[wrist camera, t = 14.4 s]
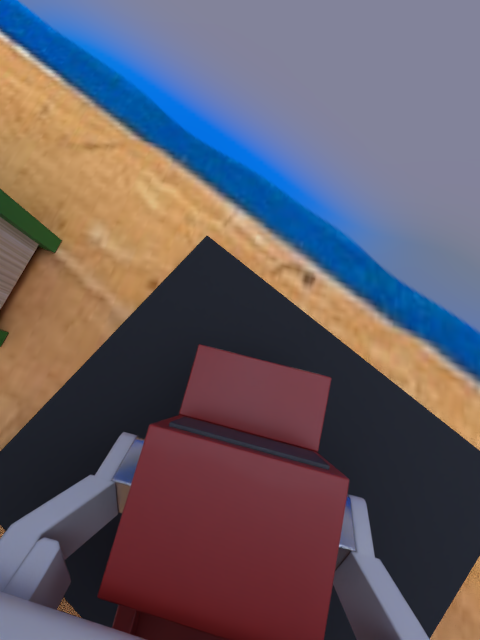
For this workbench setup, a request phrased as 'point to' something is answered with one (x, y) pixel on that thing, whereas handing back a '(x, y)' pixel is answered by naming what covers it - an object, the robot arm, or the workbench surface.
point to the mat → (335, 444)
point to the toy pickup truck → (231, 511)
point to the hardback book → (18, 244)
